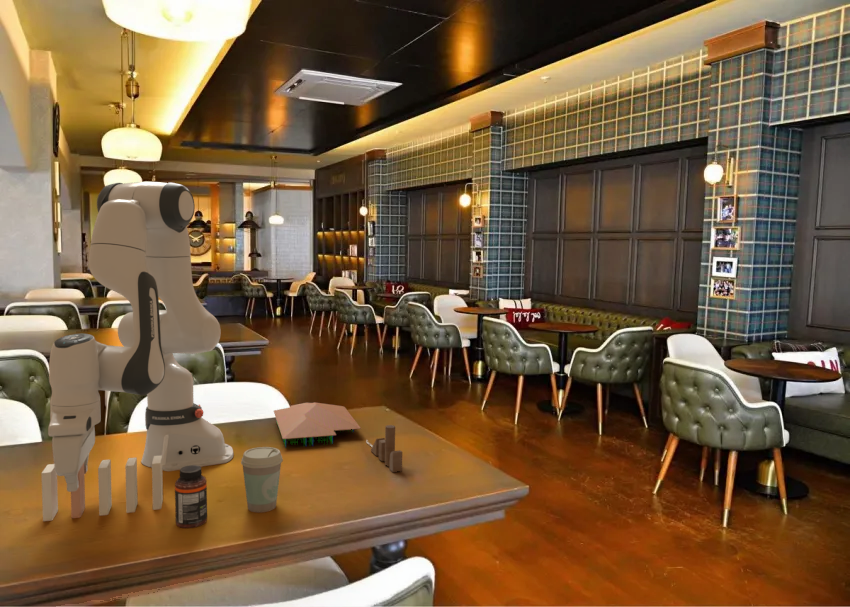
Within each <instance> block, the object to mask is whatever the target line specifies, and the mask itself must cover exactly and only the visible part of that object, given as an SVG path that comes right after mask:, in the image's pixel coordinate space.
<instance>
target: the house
mask: <svg viewBox="0 0 850 607" xmlns="http://www.w3.org/2000/svg"><path fill="white" fill-rule="evenodd" d="M347 409H348V408H346V407H345V406H344V405H343V406H342V405H336V404H328V403H320V402H303V403H299V404H292V405H290V406H289V407H286V408H285V407H283V408H281V409H280V408H279V409H275V410H273V413H274V416H275V420H276V421H275V422H276V425H277V427H278V429H279V433H280V437H281V438H282V439H281V440H282V441H283V445H284V447H285V449H286V448H287V440H293V439H294V441H291V444H293V443H294V444H296V443H297V441H296V439H302V442H303V444H304V447H307V442H308V443H310V445H311V446H312V447H314V438H317V437H318V438H320V439H318V442H320V441H321V439H322V440H323V441H324V444H323V445H324V446H325V441H326V443H327V444H326V445H328V442H330V444H331V445H332V444H333V443H334V436H337V433H336V431H337V432H338V431H340V432H339V433H342V432H341V431H347V432H348V434H349V432H350V431H351V432H352V433H353V432H354V433H355V430H362V428H361V426H360V425H359V424H358V422H357V421H356V420H355V419H354V417H353V416H352V415H351V413H350V412H349V411H348V410H347ZM351 429H352V430H351ZM325 437H326V438H325ZM307 438H309V440H307ZM333 445H334V444H333Z"/></svg>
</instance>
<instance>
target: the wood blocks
mask: <svg viewBox="0 0 850 607" xmlns="http://www.w3.org/2000/svg"><path fill="white" fill-rule="evenodd" d="M384 428H385V429H384V430H385V433H384V434H385V435H384V436H385V437H381V438H376V439H375V441H374V443H373V444H372V443H370V442H369V440H368V439H366V441H365V443H366V444H368V446H369V447H370V446H371V447H372V448H371V447H370V448H371V449H370V451H371V452H372V454H374V455H375V456H376V457H378V459H379V461H380V462H384V466H385V465H387V466H386V467H389V470H390V472H392V473H398V472H397V471H400V472H402V471H403V451H402V450H396V426H395V425H393V424H389V425H385V427H384Z"/></svg>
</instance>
